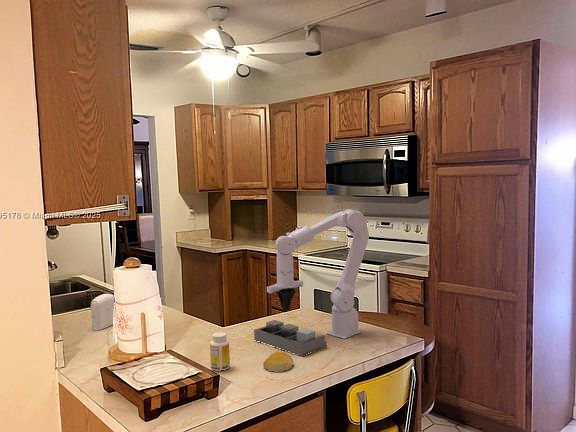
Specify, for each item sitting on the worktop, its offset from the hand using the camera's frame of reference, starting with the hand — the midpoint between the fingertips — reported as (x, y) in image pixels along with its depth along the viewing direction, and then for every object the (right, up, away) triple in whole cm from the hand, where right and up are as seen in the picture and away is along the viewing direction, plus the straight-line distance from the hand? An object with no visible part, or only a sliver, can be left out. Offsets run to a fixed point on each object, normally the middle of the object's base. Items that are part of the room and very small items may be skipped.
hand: (285, 310), depth 172 cm
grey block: (+7, -10, -10) cm, 16 cm away
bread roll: (-2, -13, -24) cm, 27 cm away
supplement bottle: (-19, -13, -25) cm, 34 cm away
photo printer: (-69, -10, +18) cm, 72 cm away
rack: (+1, -10, -5) cm, 12 cm away
